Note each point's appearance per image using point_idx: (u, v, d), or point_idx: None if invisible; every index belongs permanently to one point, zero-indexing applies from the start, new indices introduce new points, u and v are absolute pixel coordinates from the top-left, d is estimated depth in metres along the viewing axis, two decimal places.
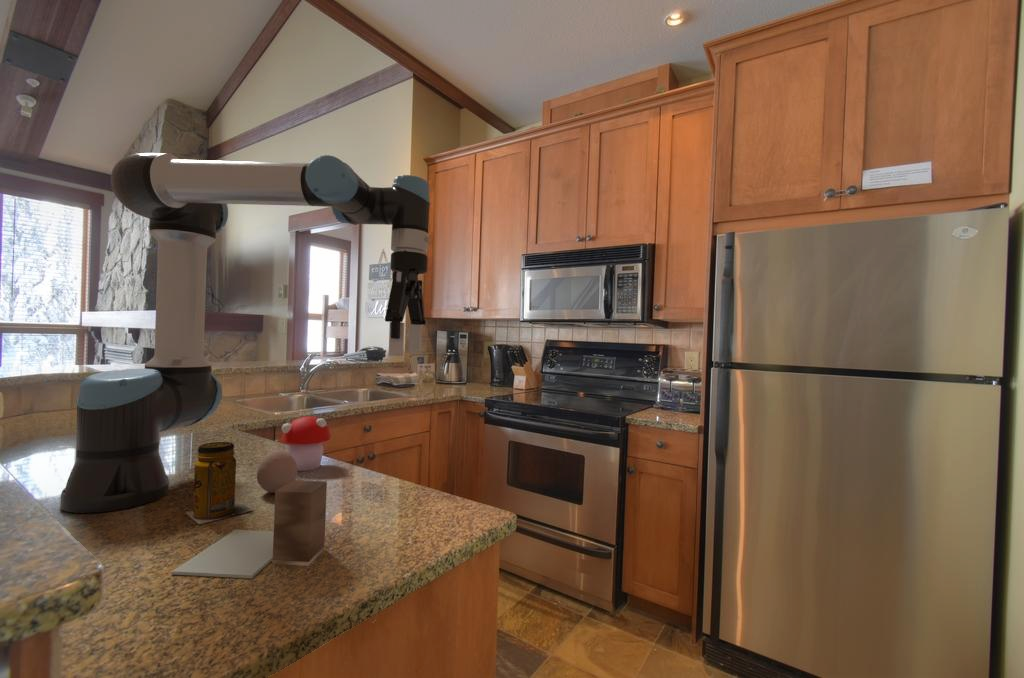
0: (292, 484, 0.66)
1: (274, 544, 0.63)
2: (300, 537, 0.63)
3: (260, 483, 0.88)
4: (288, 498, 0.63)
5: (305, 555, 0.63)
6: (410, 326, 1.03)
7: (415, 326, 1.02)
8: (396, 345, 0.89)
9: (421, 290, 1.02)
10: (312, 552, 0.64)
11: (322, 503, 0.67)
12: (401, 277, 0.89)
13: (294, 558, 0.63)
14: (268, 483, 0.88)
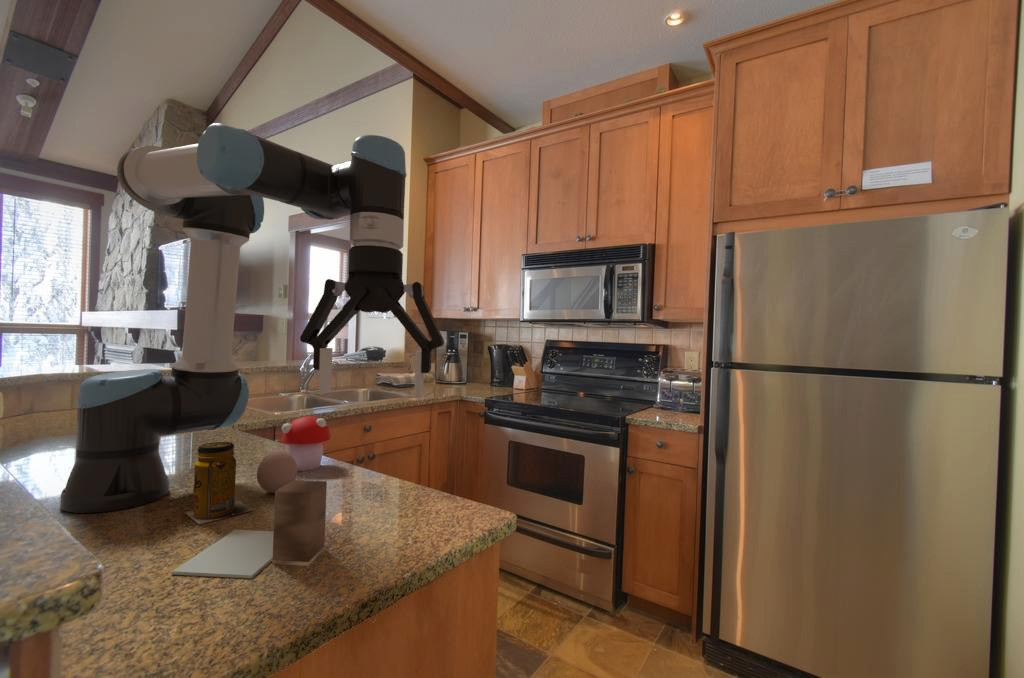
0: (292, 484, 0.66)
1: (274, 545, 0.63)
2: (300, 537, 0.63)
3: (260, 483, 0.88)
4: (288, 498, 0.63)
5: (305, 555, 0.63)
6: None
7: None
8: None
9: (416, 297, 0.66)
10: (312, 552, 0.64)
11: (322, 503, 0.67)
12: None
13: (294, 558, 0.63)
14: (268, 483, 0.88)
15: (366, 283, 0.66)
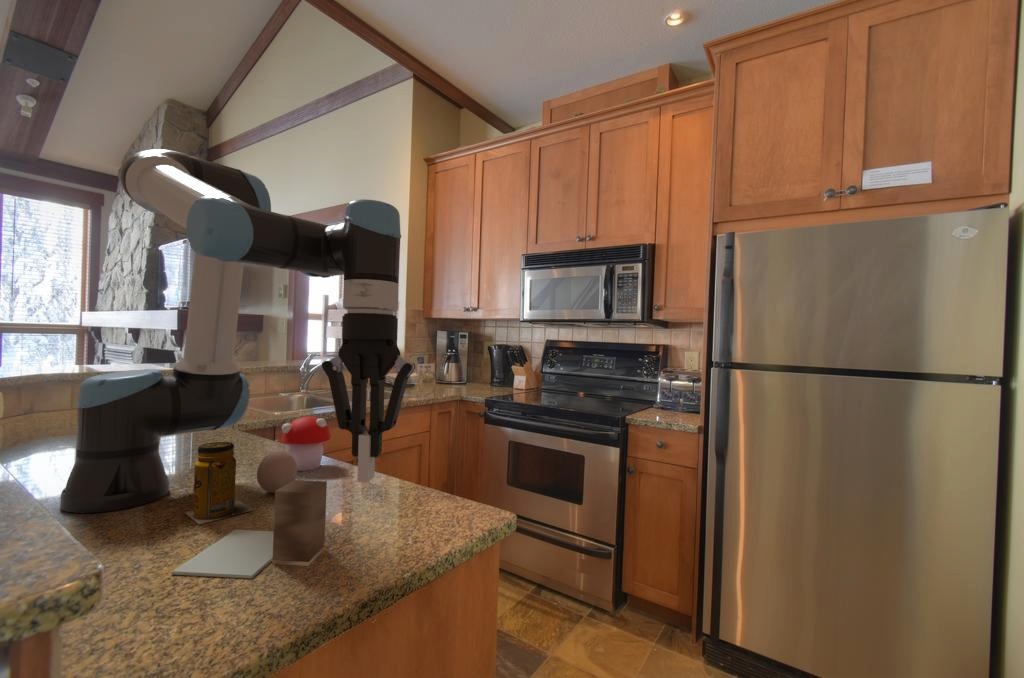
0: (292, 484, 0.66)
1: (274, 545, 0.63)
2: (300, 537, 0.63)
3: (260, 483, 0.88)
4: (288, 498, 0.63)
5: (305, 555, 0.63)
6: None
7: None
8: None
9: (399, 376, 0.64)
10: (312, 552, 0.64)
11: (322, 503, 0.67)
12: None
13: (294, 558, 0.63)
14: (268, 483, 0.88)
15: (354, 341, 0.64)
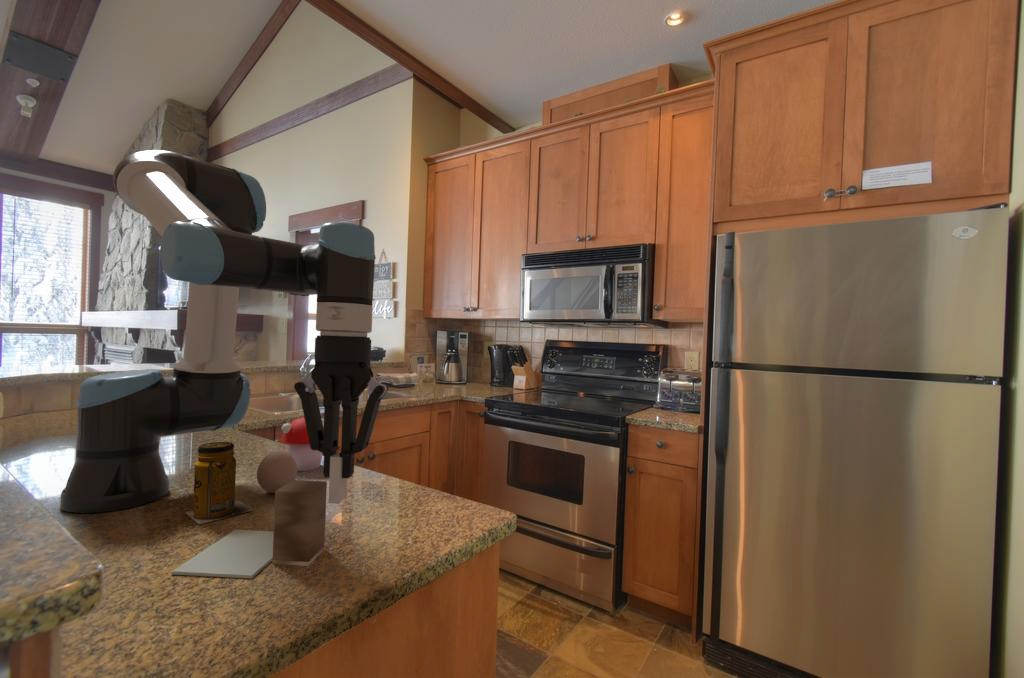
0: (292, 484, 0.66)
1: (274, 544, 0.63)
2: (300, 537, 0.63)
3: (260, 483, 0.88)
4: (288, 498, 0.63)
5: (305, 555, 0.63)
6: None
7: None
8: None
9: (371, 399, 0.64)
10: (312, 552, 0.64)
11: (322, 503, 0.67)
12: None
13: (294, 558, 0.63)
14: (268, 483, 0.88)
15: (327, 362, 0.64)
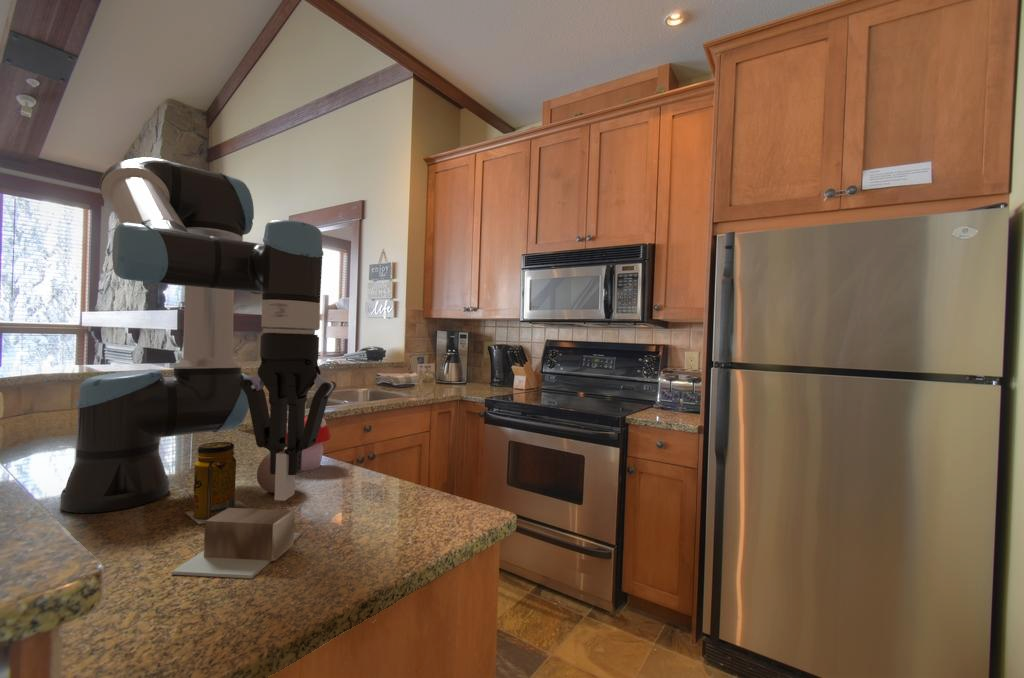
0: None
1: (256, 558, 0.63)
2: (248, 531, 0.63)
3: (260, 483, 0.88)
4: (210, 543, 0.63)
5: (266, 527, 0.63)
6: None
7: None
8: None
9: (317, 396, 0.64)
10: (271, 520, 0.64)
11: (241, 511, 0.67)
12: None
13: (269, 538, 0.63)
14: (268, 483, 0.88)
15: (273, 360, 0.65)
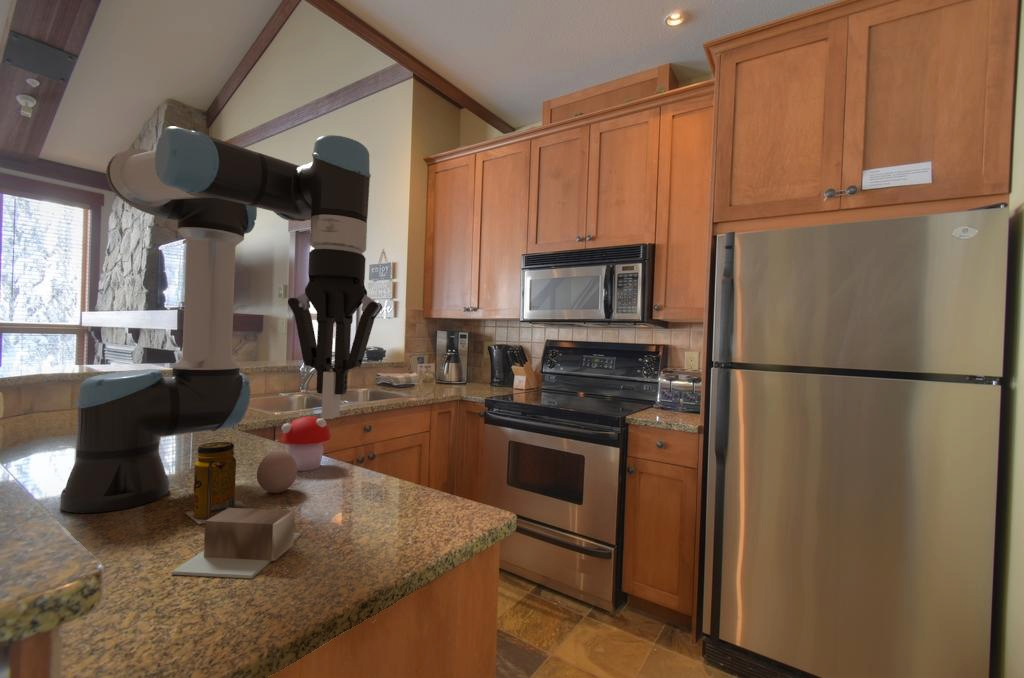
0: None
1: (256, 558, 0.63)
2: (248, 531, 0.63)
3: (260, 483, 0.88)
4: (210, 543, 0.63)
5: (266, 527, 0.63)
6: None
7: None
8: None
9: (364, 315, 0.64)
10: (271, 520, 0.64)
11: (241, 511, 0.67)
12: None
13: (269, 538, 0.63)
14: (268, 483, 0.88)
15: (321, 278, 0.64)
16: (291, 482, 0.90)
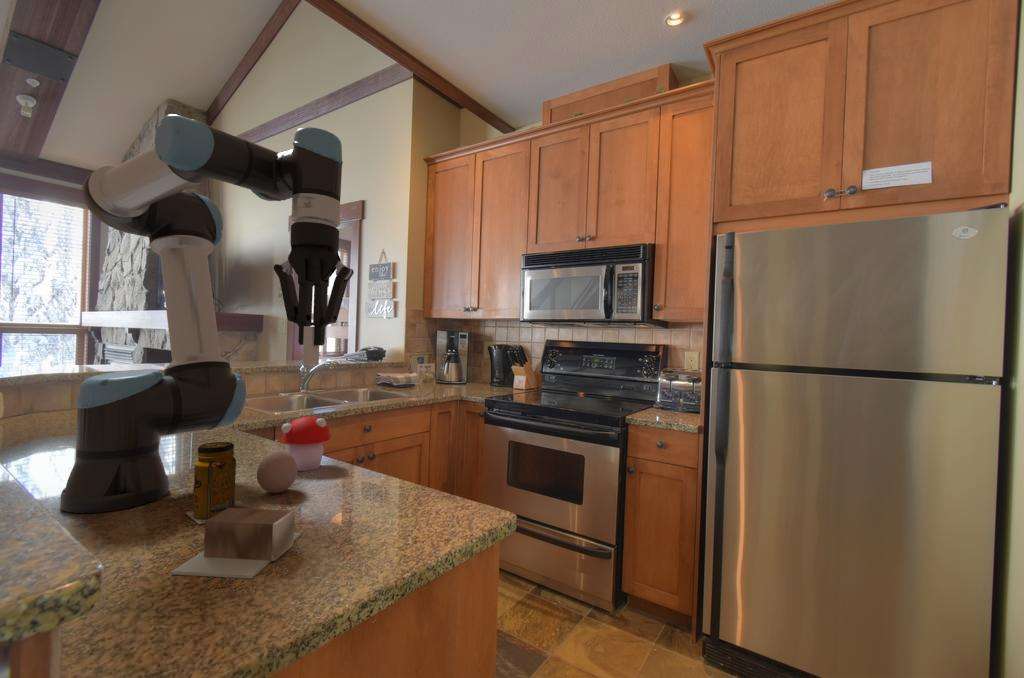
0: None
1: (256, 558, 0.63)
2: (248, 531, 0.63)
3: (260, 483, 0.88)
4: (210, 543, 0.63)
5: (266, 527, 0.63)
6: None
7: None
8: None
9: (338, 277, 0.76)
10: (271, 520, 0.64)
11: (241, 511, 0.67)
12: None
13: (269, 538, 0.63)
14: (268, 483, 0.88)
15: (301, 247, 0.77)
16: (291, 482, 0.90)
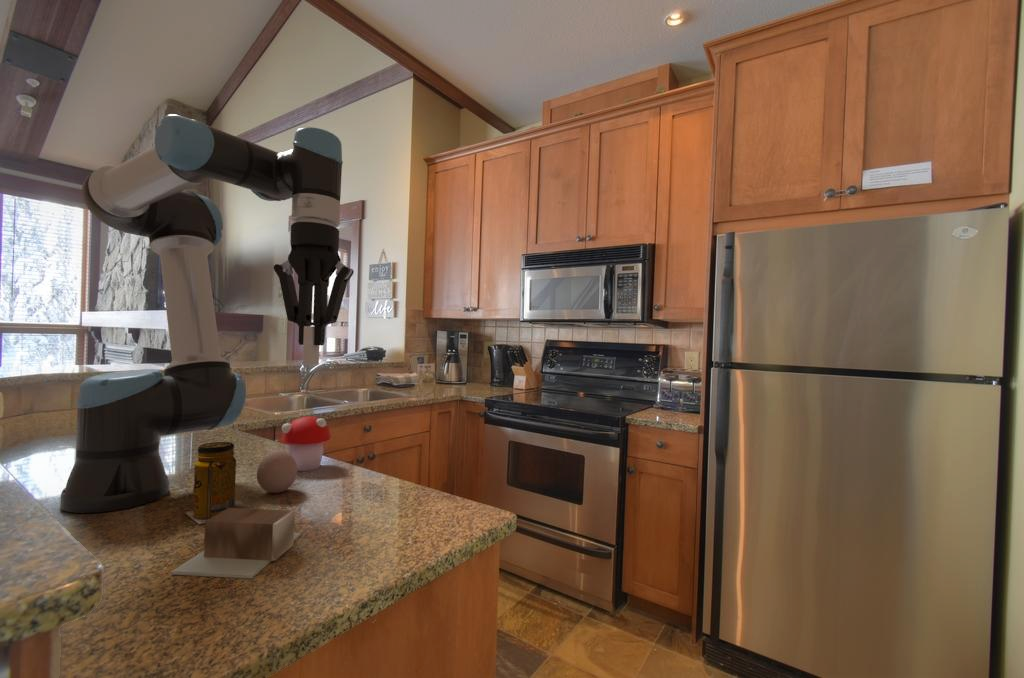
0: None
1: (256, 558, 0.63)
2: (248, 531, 0.63)
3: (260, 483, 0.88)
4: (210, 543, 0.63)
5: (266, 527, 0.63)
6: None
7: None
8: None
9: (338, 277, 0.76)
10: (271, 520, 0.64)
11: (241, 511, 0.67)
12: None
13: (269, 538, 0.63)
14: (268, 483, 0.88)
15: (301, 247, 0.77)
16: (291, 482, 0.90)
